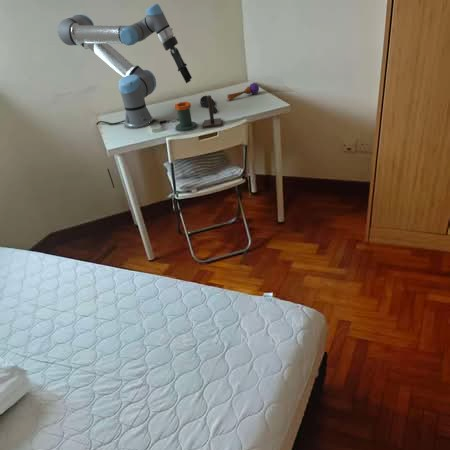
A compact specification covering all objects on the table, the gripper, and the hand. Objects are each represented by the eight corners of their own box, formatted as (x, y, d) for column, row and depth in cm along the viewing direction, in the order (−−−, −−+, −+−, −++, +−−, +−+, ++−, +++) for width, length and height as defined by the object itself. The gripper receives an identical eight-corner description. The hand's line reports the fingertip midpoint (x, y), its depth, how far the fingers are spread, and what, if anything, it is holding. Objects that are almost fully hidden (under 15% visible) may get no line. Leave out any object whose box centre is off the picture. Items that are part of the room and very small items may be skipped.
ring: (174, 111, 210) (174, 107, 209) (176, 106, 216) (175, 102, 215) (190, 109, 210) (189, 105, 209) (191, 104, 216) (190, 100, 215)
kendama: (225, 92, 245) (255, 81, 249) (227, 102, 249) (257, 92, 252) (229, 92, 240) (259, 81, 244) (231, 103, 244) (261, 92, 247)
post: (204, 128, 216) (199, 99, 206) (204, 122, 222) (200, 94, 213) (221, 126, 215) (217, 97, 206) (221, 120, 222) (217, 92, 212)
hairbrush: (207, 109, 229) (197, 95, 246) (208, 116, 231) (198, 102, 249) (222, 106, 230) (211, 92, 247) (222, 113, 232) (211, 99, 250)
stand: (175, 132, 216) (171, 112, 209) (177, 125, 224) (173, 105, 218) (196, 129, 215) (193, 109, 209) (197, 122, 223) (194, 102, 217)
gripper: (172, 35, 200) (194, 79, 211) (176, 34, 221) (196, 74, 232) (159, 44, 202) (181, 87, 213) (164, 42, 223) (184, 81, 234)
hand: (189, 80), depth 222 cm, fingers open, 13 cm apart
